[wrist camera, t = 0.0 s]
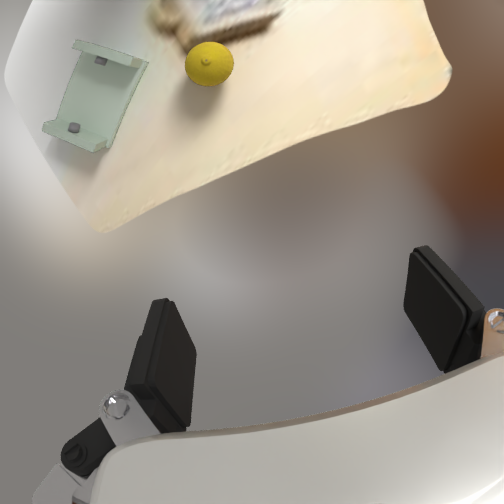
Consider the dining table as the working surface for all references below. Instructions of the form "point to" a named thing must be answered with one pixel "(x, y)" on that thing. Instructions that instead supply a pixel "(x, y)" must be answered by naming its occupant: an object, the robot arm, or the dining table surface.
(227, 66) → the lemon
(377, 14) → the dining table surface
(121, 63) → the holder
